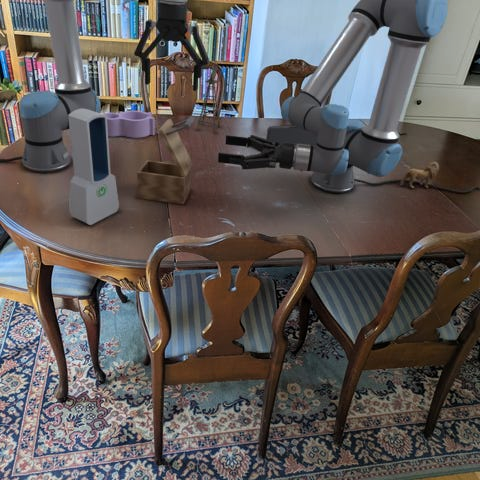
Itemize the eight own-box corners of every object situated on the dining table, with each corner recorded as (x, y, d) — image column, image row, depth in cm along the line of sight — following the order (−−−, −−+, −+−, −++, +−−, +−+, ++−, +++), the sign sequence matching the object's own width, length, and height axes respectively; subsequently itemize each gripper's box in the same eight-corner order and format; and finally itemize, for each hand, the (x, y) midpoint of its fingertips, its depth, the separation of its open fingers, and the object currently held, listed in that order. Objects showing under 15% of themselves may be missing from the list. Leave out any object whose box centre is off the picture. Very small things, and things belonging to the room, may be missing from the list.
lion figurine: (427, 181, 177) (434, 159, 172) (436, 187, 173) (444, 165, 168) (395, 184, 172) (401, 161, 167) (403, 190, 168) (411, 167, 163)
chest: (137, 197, 146) (136, 172, 141) (147, 184, 154) (146, 159, 149) (183, 204, 145) (184, 178, 140) (190, 190, 153) (191, 166, 148)
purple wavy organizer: (104, 138, 183) (103, 121, 179) (102, 127, 192) (100, 111, 189) (155, 137, 189) (155, 120, 185) (150, 126, 199) (150, 110, 195)
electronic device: (87, 227, 129) (77, 121, 112) (68, 218, 132) (56, 113, 115) (120, 210, 138) (114, 110, 122) (101, 202, 141) (94, 103, 125)
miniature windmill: (215, 133, 199) (220, 59, 183) (196, 130, 200) (199, 56, 184) (220, 126, 207) (225, 55, 190) (201, 123, 208) (205, 52, 191)
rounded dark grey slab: (315, 147, 196) (319, 124, 190) (317, 149, 194) (322, 126, 188) (264, 149, 189) (267, 125, 183) (266, 152, 187) (269, 127, 181)
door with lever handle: (158, 130, 133) (184, 119, 130) (167, 119, 141) (192, 109, 138) (182, 177, 140) (208, 168, 137) (189, 164, 148) (214, 155, 145)
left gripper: (222, 6, 121) (217, 88, 133) (129, -5, 123) (132, 77, 134) (218, 9, 115) (212, 95, 127) (120, -2, 117) (123, 84, 128)
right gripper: (290, 187, 128) (214, 178, 130) (293, 151, 149) (228, 144, 150) (294, 162, 124) (215, 153, 125) (296, 129, 145) (229, 121, 146)
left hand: (171, 86), depth 131 cm, fingers open, 13 cm apart
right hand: (222, 148), depth 138 cm, fingers open, 13 cm apart
